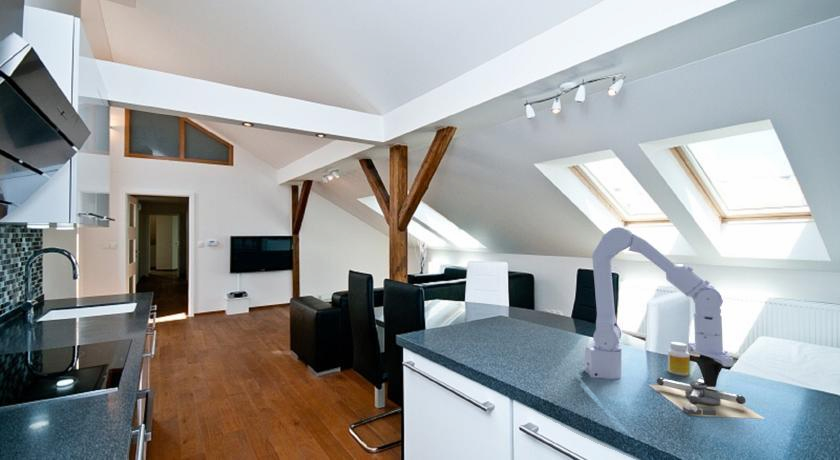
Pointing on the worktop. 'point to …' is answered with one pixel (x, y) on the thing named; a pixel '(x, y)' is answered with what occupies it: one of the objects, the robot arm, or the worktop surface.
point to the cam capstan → (701, 392)
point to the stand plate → (721, 410)
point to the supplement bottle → (678, 359)
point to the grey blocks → (699, 410)
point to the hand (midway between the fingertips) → (710, 386)
